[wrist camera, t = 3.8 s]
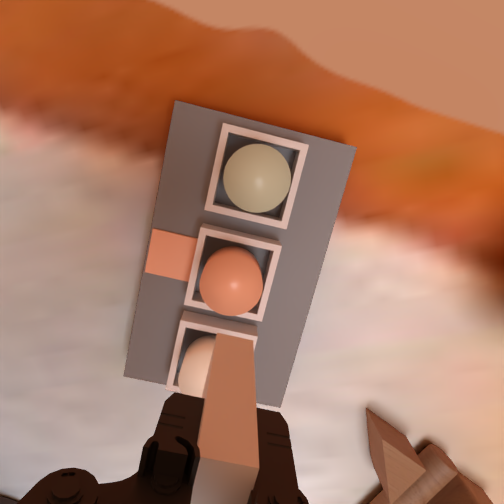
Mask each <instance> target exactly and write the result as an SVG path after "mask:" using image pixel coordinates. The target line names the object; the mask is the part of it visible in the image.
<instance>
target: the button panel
mask: <svg viewBox="0 0 504 504" xmlns="http://www.w3.org/2000/svg"><path fill="white" fill-rule="evenodd" d="M251 144H263V145H267V146H270V147H272V148H274V149H276V150H277V151H278V152H279V153H281V154H282V156H283V157H284V158H285V160H286V161H287V163H288V166H289V169H290V173H291V183H290V188H289V191H288V193H287V195H286V197H285V198H284V200H283V201H282V202H281V203H280V204H279V205H278V206H276V207H275V208H273V209H271V210H269V211H266V212H261V213H253V212H248V211H245V210H243V209H241V208H239V207H238V206H236V205H235V204H234V203H233V202H232V201H231V200H230V198H229V197H228V195H227V193H226V190H225V187H224V182H223V175H224V170H225V166H226V164H227V162H228V160H229V159H230V157H231V156H232V155H233V154H234V153H235V152H236V151H237V150H239V149H240V148H242V147H244V146H247V145H251ZM356 148H357V147H354V146H350V145H346V144H342V143H339V142H335V141H331V140H327V139H323V138H319V137H316V136H312V135H308V134H304V133H300V132H296V131H293V130H289V129H285V128H281V127H277V126H273V125H269V124H266V123H262V122H258V121H254V120H250V119H246V118H243V117H239V116H235V115H231V114H227V113H223V112H219V111H216V110H212V109H208V108H204V107H200V106H196V105H193V104H189V103H185V102H181V101H177V100H175V103H174V108H173V114H172V119H171V124H170V130H169V135H168V140H167V146H166V151H165V156H164V162H163V167H162V172H161V178H160V183H159V188H158V194H157V199H156V204H155V210H154V215H153V221H152V226H151V231H150V237H149V242H148V247H147V253H146V258H145V263H144V269H143V274H142V279H141V285H140V290H139V295H138V301H137V306H136V311H135V317H134V322H133V327H132V333H131V338H130V343H129V349H128V354H127V360H126V365H125V370H124V376H125V377H130V378H135V379H140V380H145V381H150V382H155V383H160V384H165V385H166V389H165V390H170V391H175V392H180V393H181V391H180V388H179V384H178V377H179V372H180V369H181V366H182V363H183V359H184V356H185V353H186V350H187V348H188V347H189V345H190V344H191V343H192V342H193V341H195V340H196V339H198V338H200V337H203V336H208V335H214V336H216V335H217V333H221V334H226V335H231V336H235V337H240V338H244V339H249V340H253V347H254V367H255V388H256V403H259V404H264V405H269V406H274V407H279V408H280V407H281V404H282V400H283V397H284V394H285V390H286V387H287V383H288V380H289V377H290V373H291V370H292V366H293V363H294V360H295V356H296V353H297V349H298V346H299V343H300V339H301V336H302V332H303V329H304V326H305V322H306V319H307V315H308V312H309V308H310V305H311V302H312V298H313V295H314V291H315V288H316V285H317V281H318V278H319V274H320V271H321V268H322V264H323V261H324V257H325V254H326V251H327V247H328V244H329V240H330V237H331V234H332V230H333V227H334V223H335V220H336V217H337V213H338V210H339V206H340V203H341V200H342V196H343V193H344V189H345V186H346V182H347V179H348V176H349V172H350V169H351V165H352V162H353V159H354V155H355V152H356ZM228 246H236V247H241V248H244V249H246V250H248V251H249V252H250V253H252V254H253V255H254V256H255V258H256V259H257V261H258V263H259V265H260V269H261V275H262V281H263V290H262V295H261V297H260V299H259V301H258V303H257V304H256V305H255V306H254V307H253V308H252V309H251V310H249V311H248V312H246V313H244V314H241V315H236V316H226V315H222V314H219V313H217V312H215V311H213V310H212V309H210V308H209V307H208V306H207V305H206V303H205V302H204V300H203V299H202V296H201V293H200V288H199V283H200V278H201V274H202V272H203V269H204V267H205V264H206V262H207V260H208V258H209V257H210V256H211V255H212V254H213V253H214V252H215V251H217V250H219V249H221V248H223V247H228Z"/></svg>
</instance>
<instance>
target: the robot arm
mask: <svg viewBox="0 0 504 504" xmlns="http://www.w3.org/2000/svg"><path fill="white" fill-rule="evenodd" d="M289 438H290V435H289V429H288V424H287V423H286V421H285V420H284V418H283V416H282V415H281V413H280V412H275V411H270V410H265V409H260V408H256V388H255V367H254V347H253V340H249V339H244V338H240V337H235V336H231V335H226V334H221V333H217V335H216V339H215V343H214V348H213V352H212V356H211V360H210V364H209V368H208V373H207V377H206V381H205V385H204V389H203V394H202V398H200V397H195V396H190V395H185V394H180V393H174V394H172V395H171V396H170V397H169V398H168V399H167V400H166V401H165V403H164V406H163V409H162V412H161V415H160V418H159V421H158V424H157V427H156V430H155V433H154V436H152V437H151V438H149V439H148V440H147V442H146V443H145V445H144V446H143V451H142V455H141V460H140V465H139V470H138V472H137V473H135V474H134V475H132V476H131V477H129V478H127V479H124V480H122V481H118V482H113V483H104V484H98V482H97V480H96V479H95V477H94V476H93V475H92V474H91V473H89V472H88V471H86V470H82V469H78V468H66V469H60V470H58V471H55V472H52V473H50V474H48V475H47V476H46V477H44V478H43V479H41V480H40V481H39V482H38V483H37V484H36V485H35V486H34V487H33V488H32V489H31V490H30V491H29V492H28V493H27V494H26V495H25V496H24V497H23V498H22V499H21V500H20V501H19V502H16V501H14V500H11V499H8V498H5V497H1V496H0V504H309V503H308V500H307V498H306V497H305V496H304V494H303V493H302V492H301V491H300V490H299V489H298V483H297V477H296V471H295V465H294V459H293V453H292V449H291V441H290V439H289Z"/></svg>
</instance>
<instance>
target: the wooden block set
mask: <svg viewBox="0 0 504 504" xmlns="http://www.w3.org/2000/svg"><path fill="white" fill-rule="evenodd" d="M366 415H367V428H368V436H369V444H370V452H371V458H372V462H373V466H374V469H375V471H376V473H377V475H378V478H379V480H380V482H381V485H382V487H383V490H382V491H381V492H380V493H379V494H378V495H377V496H376V497H375V498H374V499H373V500H372V501H371V502H370V503H369V504H493V503H492V501H491V500H490V499H489V497H488V496H487V495H486V493H485V492H484V491H483V489H481V488H480V487H478V486H477V485H476V484H474V483H473V482H472V481H470V480H469V479H467V478H466V477H465V476H463V475H462V474H461V473H459V472H458V470H457V468H456V466H455V465H454V463H453V462H452V461H451V459H450V458H449V457H448V456H447V455H446V454H445V453H444V452H443V451H442V450H441V449H439V448H438V447H437V446H435V445H433V444H429V445H428V446H427V447H426V448H425V449H424V450H423V451H422V452H420V453H419V454H418V455H417V454H416V452H415V451H414V449H413V447H412V446H411V444H410V442H409V441H408V439H407V437H406V436H405V435H403V434H402V433H400V432H399V431H398V430H396V429H395V428H394V427H392V426H391V425H389V424H388V423H387V422H385V421H384V420H382V419H381V418H380V417H378V416H377V415H376V414H374V413H373V412H371V411H370V410H369V409H367V408H366Z"/></svg>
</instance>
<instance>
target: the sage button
mask: <svg viewBox="0 0 504 504" xmlns="http://www.w3.org/2000/svg"><path fill="white" fill-rule="evenodd" d="M223 182H224V187H225V190H226V193H227V195H228V197H229V198H230V200H231V201H232V202H233V203H234V204H235V205H236V206H238V207H239V208H241V209H243V210H245V211H248V212H253V213H261V212H266V211H269V210H271V209H273V208H275V207H276V206H278V205H279V204H280V203H281V202H282V201H283V200H284V198H285V197H286V195H287V193H288V191H289V188H290V183H291V173H290V169H289V166H288V163H287V161H286V160H285V158H284V157H283V156H282V154H281V153H279V152H278V151H277V150H276V149H274V148H272V147H270V146H267V145H263V144H251V145H247V146H244V147H242V148H240V149H239V150H237V151H236V152H235V153H234V154H233V155H232V156H231V157H230V159H229V160H228V162H227V164H226V166H225V170H224V175H223Z"/></svg>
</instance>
